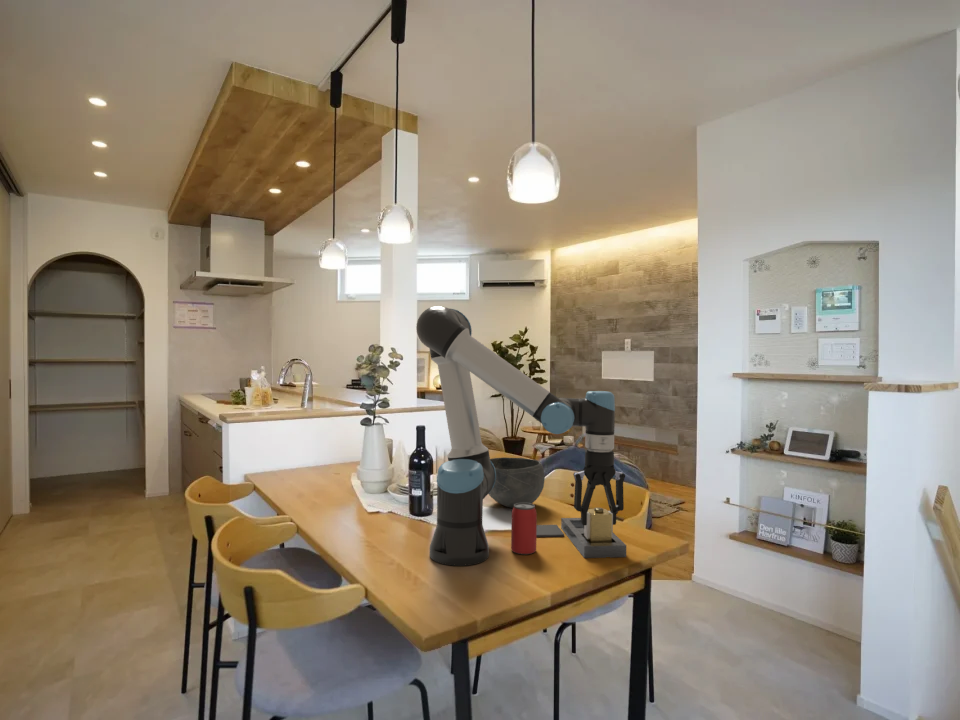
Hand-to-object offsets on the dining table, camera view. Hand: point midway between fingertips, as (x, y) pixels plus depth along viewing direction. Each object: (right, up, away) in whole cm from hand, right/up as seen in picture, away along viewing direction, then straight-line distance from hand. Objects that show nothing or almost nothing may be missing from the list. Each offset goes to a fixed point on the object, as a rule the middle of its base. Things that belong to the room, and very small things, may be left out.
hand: (598, 536), depth 147 cm
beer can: (-20, -3, -2) cm, 20 cm away
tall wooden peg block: (0, -3, 0) cm, 3 cm away
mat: (-12, -3, +14) cm, 19 cm away
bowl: (-20, -3, +41) cm, 46 cm away
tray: (-1, -3, +6) cm, 7 cm away
